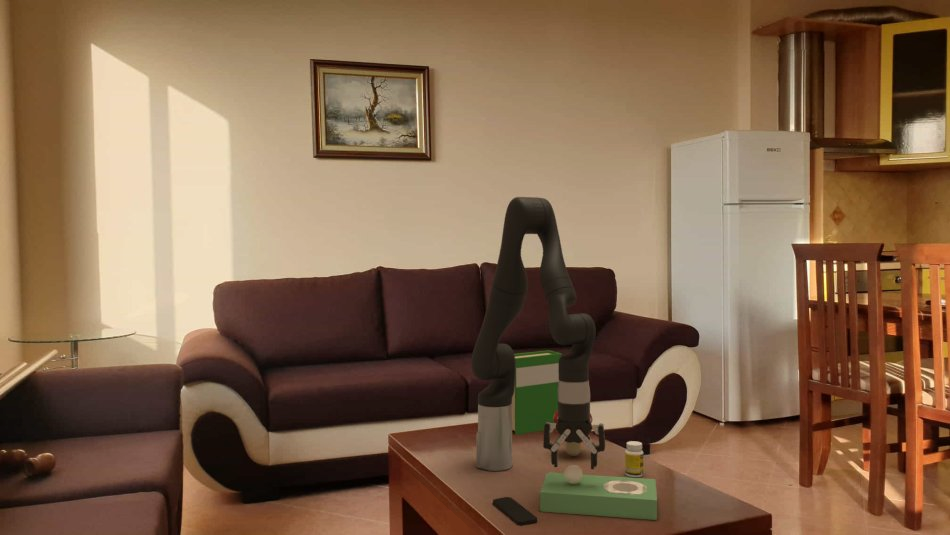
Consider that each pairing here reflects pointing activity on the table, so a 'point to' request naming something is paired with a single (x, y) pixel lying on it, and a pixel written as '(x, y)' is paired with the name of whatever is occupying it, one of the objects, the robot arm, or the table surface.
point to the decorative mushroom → (571, 447)
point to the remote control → (514, 511)
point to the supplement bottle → (634, 459)
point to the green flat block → (600, 496)
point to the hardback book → (535, 390)
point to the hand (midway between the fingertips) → (574, 467)
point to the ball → (573, 474)
